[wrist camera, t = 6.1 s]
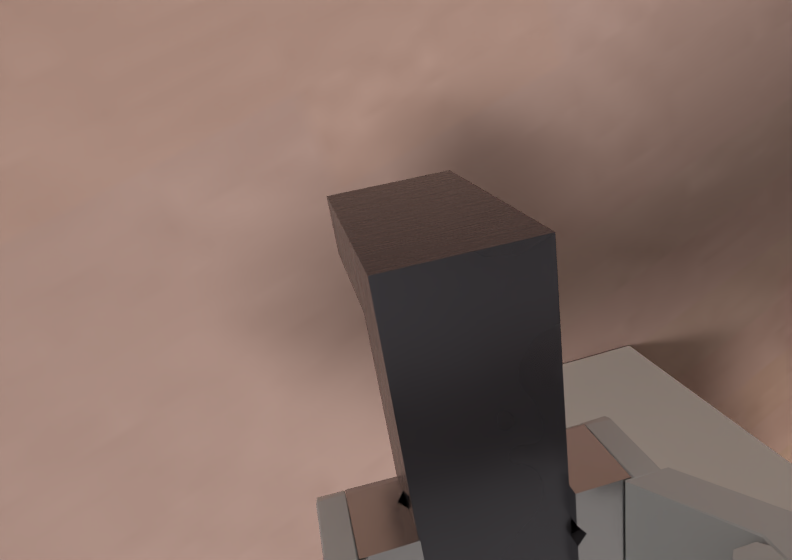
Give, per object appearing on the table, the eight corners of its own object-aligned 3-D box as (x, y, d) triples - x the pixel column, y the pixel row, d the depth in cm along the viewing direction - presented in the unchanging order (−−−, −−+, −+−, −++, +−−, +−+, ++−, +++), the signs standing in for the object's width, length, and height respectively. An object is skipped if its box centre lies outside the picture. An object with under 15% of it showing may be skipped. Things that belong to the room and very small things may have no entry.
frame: (326, 196, 11) (367, 275, 7) (449, 170, 12) (555, 232, 8) (406, 573, 15) (461, 764, 11) (496, 545, 16) (582, 720, 11)
